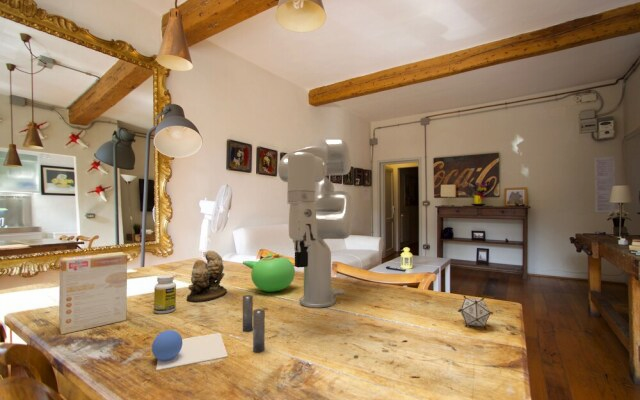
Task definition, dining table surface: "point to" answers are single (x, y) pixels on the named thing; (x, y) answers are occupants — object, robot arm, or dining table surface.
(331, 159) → the robot arm
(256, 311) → the post
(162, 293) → the pill bottle
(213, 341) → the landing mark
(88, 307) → the coffeecake box
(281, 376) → the dining table surface
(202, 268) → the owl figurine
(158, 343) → the ball
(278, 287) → the green teapot
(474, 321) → the game die
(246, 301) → the post
